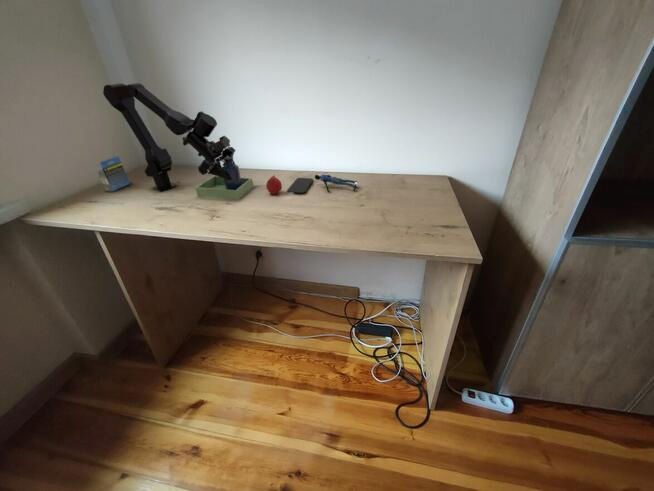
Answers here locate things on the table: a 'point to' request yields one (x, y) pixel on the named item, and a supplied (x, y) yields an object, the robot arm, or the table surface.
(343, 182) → the person figurine
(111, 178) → the tape cartridge
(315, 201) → the table surface
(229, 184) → the bottle
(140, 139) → the robot arm
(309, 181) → the phone
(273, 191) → the onion
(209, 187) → the bin
